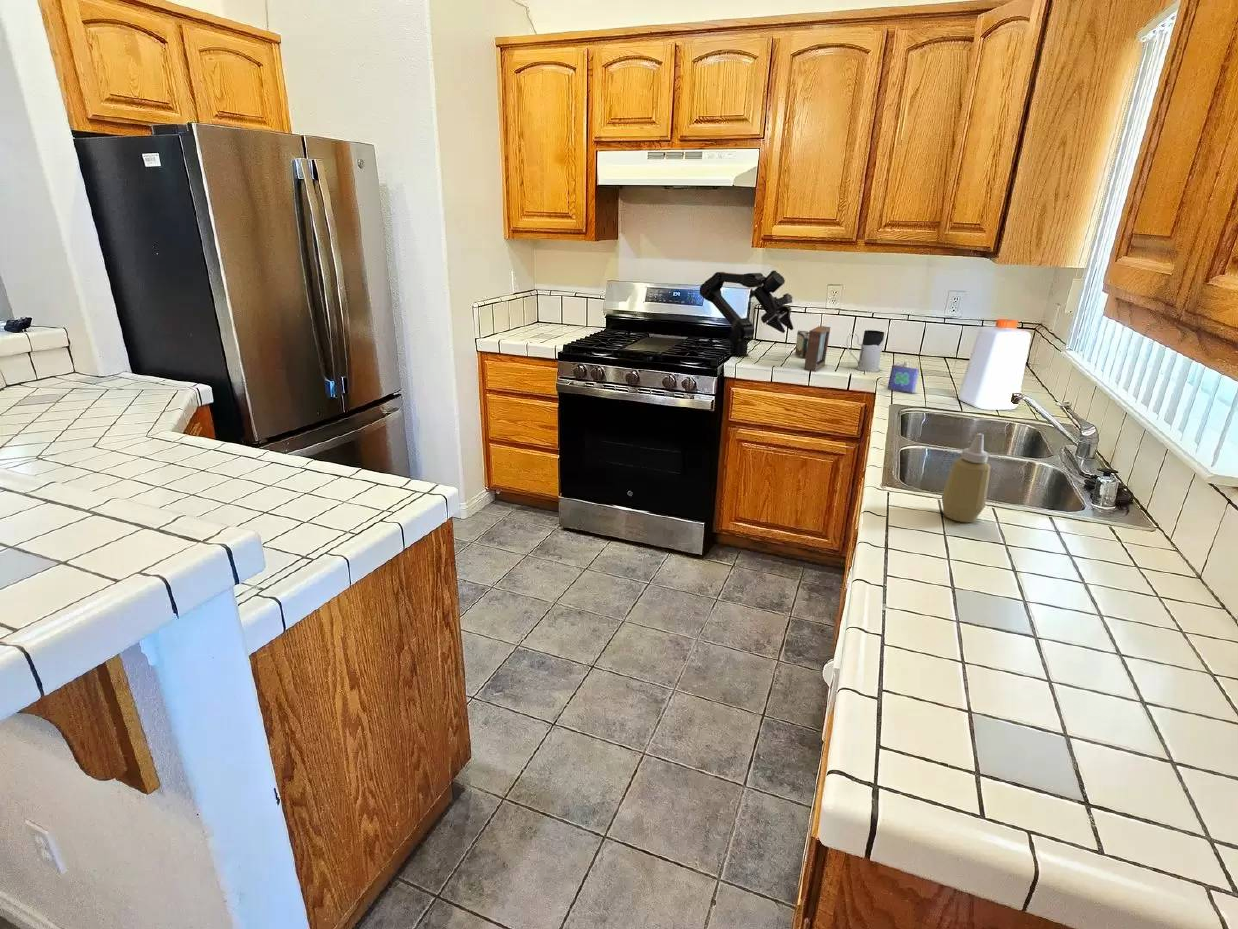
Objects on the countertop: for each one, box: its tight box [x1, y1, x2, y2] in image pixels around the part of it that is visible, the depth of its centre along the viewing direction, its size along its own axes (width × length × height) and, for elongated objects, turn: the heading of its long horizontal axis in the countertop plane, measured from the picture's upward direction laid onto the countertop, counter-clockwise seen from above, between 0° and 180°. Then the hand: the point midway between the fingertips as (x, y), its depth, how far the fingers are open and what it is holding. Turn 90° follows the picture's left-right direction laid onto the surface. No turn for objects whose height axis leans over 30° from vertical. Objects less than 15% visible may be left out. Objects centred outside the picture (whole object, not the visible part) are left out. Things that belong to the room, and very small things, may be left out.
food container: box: [794, 329, 810, 359], centre depth 280 cm, size 12×6×10 cm, turn 179°
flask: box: [887, 360, 920, 394], centre depth 228 cm, size 9×3×11 cm, turn 51°
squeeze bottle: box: [941, 432, 991, 523], centre depth 130 cm, size 8×8×18 cm
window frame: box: [803, 325, 831, 372], centre depth 259 cm, size 15×4×15 cm, turn 149°
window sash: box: [802, 338, 808, 357], centre depth 257 cm, size 6×4×11 cm
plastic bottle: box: [957, 318, 1032, 411], centre depth 213 cm, size 15×15×28 cm
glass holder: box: [846, 329, 885, 373], centre depth 260 cm, size 9×14×15 cm, turn 77°
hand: (788, 330), depth 260 cm, fingers open, 9 cm apart
